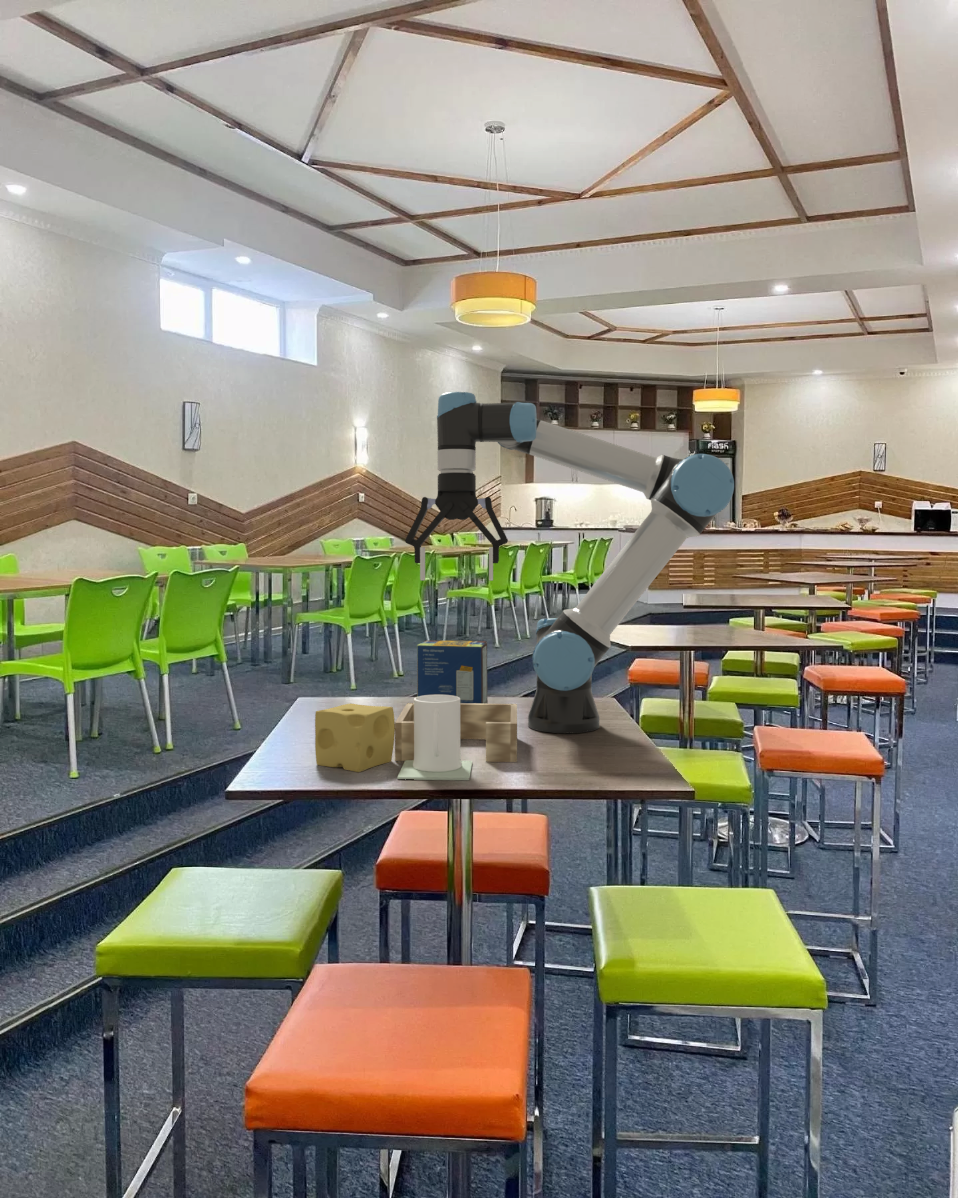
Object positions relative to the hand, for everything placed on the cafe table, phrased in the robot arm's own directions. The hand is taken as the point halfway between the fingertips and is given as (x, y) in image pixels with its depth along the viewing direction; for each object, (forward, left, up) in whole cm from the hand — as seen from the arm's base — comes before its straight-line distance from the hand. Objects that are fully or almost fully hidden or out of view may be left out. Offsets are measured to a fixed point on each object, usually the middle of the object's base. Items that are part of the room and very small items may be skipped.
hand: (456, 580), depth 190 cm
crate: (-1, +10, -32) cm, 33 cm away
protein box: (+3, -33, -32) cm, 46 cm away
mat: (+2, +27, -32) cm, 42 cm away
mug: (+2, +27, -31) cm, 41 cm away
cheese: (+17, +22, -32) cm, 42 cm away
